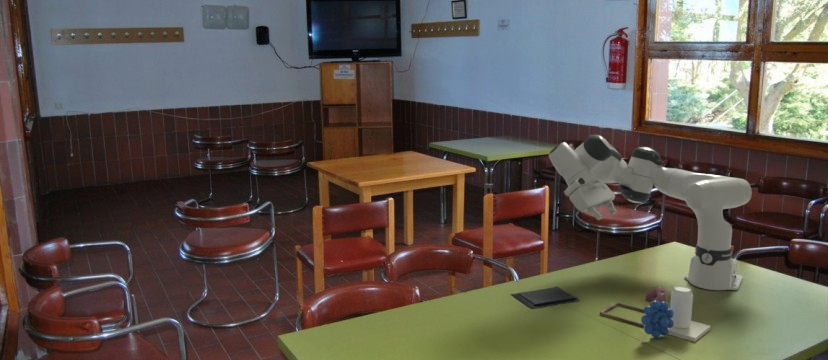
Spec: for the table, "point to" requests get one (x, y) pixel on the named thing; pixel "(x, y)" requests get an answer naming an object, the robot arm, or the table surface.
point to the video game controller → (657, 295)
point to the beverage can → (681, 306)
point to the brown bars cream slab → (688, 333)
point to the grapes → (657, 319)
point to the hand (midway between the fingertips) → (607, 216)
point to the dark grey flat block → (544, 297)
